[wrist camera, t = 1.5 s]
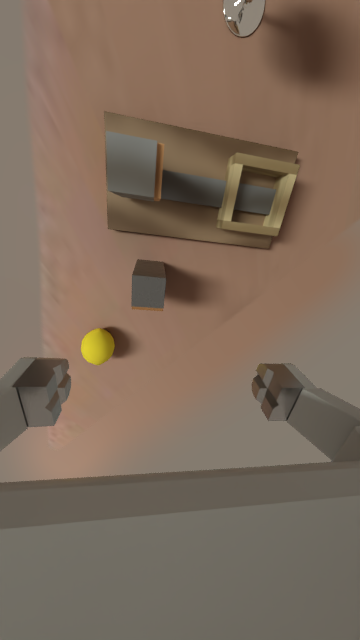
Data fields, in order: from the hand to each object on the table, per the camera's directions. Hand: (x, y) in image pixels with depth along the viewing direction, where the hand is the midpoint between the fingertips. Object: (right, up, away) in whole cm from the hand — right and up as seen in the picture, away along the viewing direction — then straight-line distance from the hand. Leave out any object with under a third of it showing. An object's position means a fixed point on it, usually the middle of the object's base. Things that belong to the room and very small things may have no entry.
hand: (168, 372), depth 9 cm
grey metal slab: (-4, +10, +24) cm, 26 cm away
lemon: (-14, -1, +29) cm, 32 cm away
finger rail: (+3, +20, +20) cm, 28 cm away
